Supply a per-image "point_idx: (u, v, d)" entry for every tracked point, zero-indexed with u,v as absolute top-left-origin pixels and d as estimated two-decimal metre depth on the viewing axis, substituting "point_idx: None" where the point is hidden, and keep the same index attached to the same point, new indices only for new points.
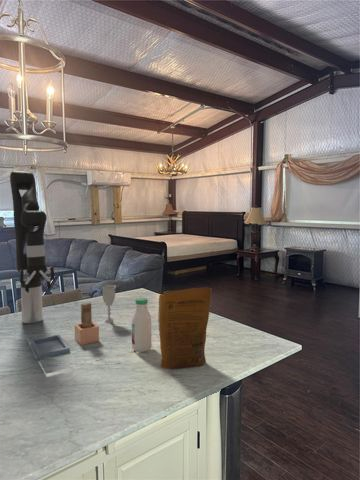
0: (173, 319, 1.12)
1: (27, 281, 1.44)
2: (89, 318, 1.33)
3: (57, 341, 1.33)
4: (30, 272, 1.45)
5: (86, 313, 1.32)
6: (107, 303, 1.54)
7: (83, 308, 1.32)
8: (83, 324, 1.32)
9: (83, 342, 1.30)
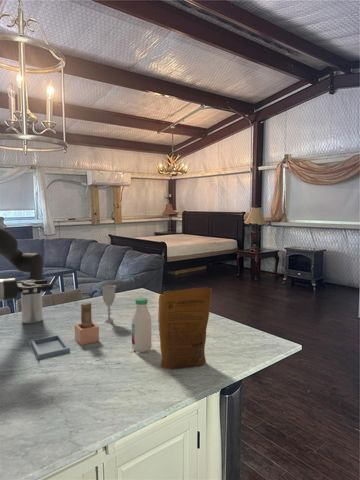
0: (173, 319, 1.12)
1: None
2: (89, 318, 1.33)
3: (57, 341, 1.33)
4: None
5: (86, 313, 1.32)
6: (107, 303, 1.54)
7: (83, 308, 1.32)
8: (83, 324, 1.32)
9: (83, 342, 1.30)
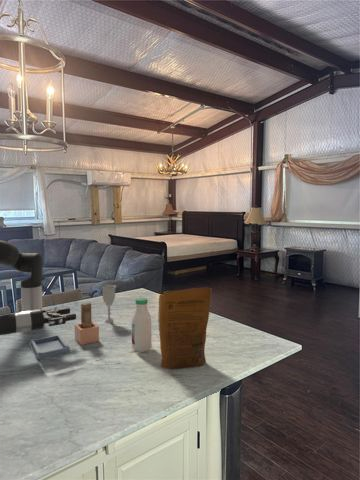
0: (173, 319, 1.12)
1: None
2: (89, 318, 1.33)
3: (57, 341, 1.33)
4: None
5: (86, 313, 1.32)
6: (107, 303, 1.54)
7: (83, 308, 1.32)
8: (83, 324, 1.32)
9: (83, 342, 1.30)
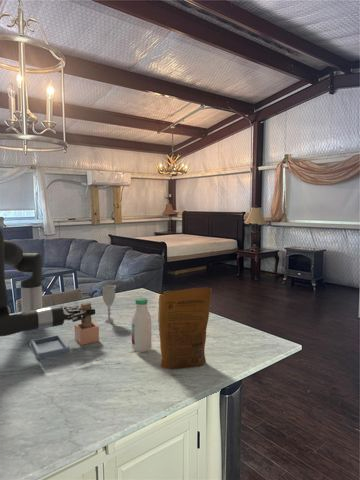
0: (173, 319, 1.12)
1: None
2: (89, 318, 1.33)
3: (57, 341, 1.33)
4: None
5: None
6: (107, 303, 1.54)
7: (82, 308, 1.32)
8: (83, 324, 1.32)
9: (83, 342, 1.30)
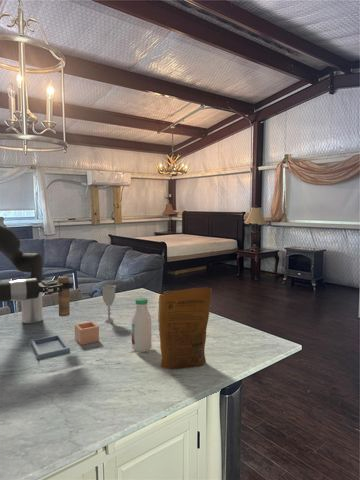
0: (173, 319, 1.12)
1: None
2: (66, 292, 1.27)
3: (57, 341, 1.33)
4: None
5: None
6: (107, 303, 1.54)
7: (59, 281, 1.26)
8: (60, 298, 1.26)
9: (83, 342, 1.30)
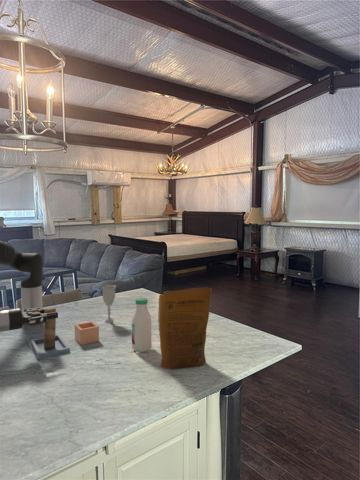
0: (173, 319, 1.12)
1: None
2: (52, 324, 1.25)
3: (57, 341, 1.33)
4: None
5: (49, 319, 1.24)
6: (107, 303, 1.54)
7: None
8: (46, 330, 1.25)
9: (83, 342, 1.30)
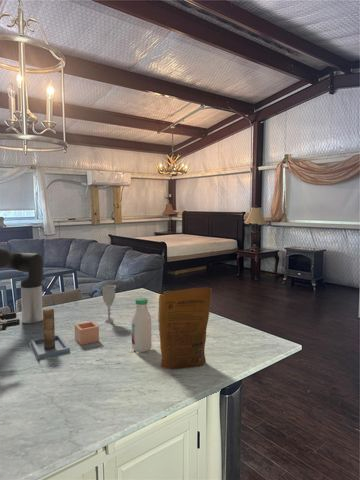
0: (173, 319, 1.12)
1: None
2: (51, 325, 1.25)
3: (57, 341, 1.33)
4: None
5: (47, 320, 1.24)
6: (107, 303, 1.54)
7: (44, 314, 1.24)
8: (45, 331, 1.24)
9: (83, 342, 1.30)
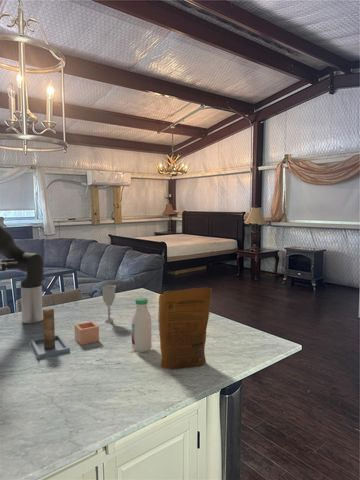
0: (173, 319, 1.12)
1: None
2: (51, 325, 1.25)
3: (57, 341, 1.33)
4: None
5: (47, 320, 1.24)
6: (107, 303, 1.54)
7: (44, 314, 1.24)
8: (45, 331, 1.24)
9: (83, 342, 1.30)
